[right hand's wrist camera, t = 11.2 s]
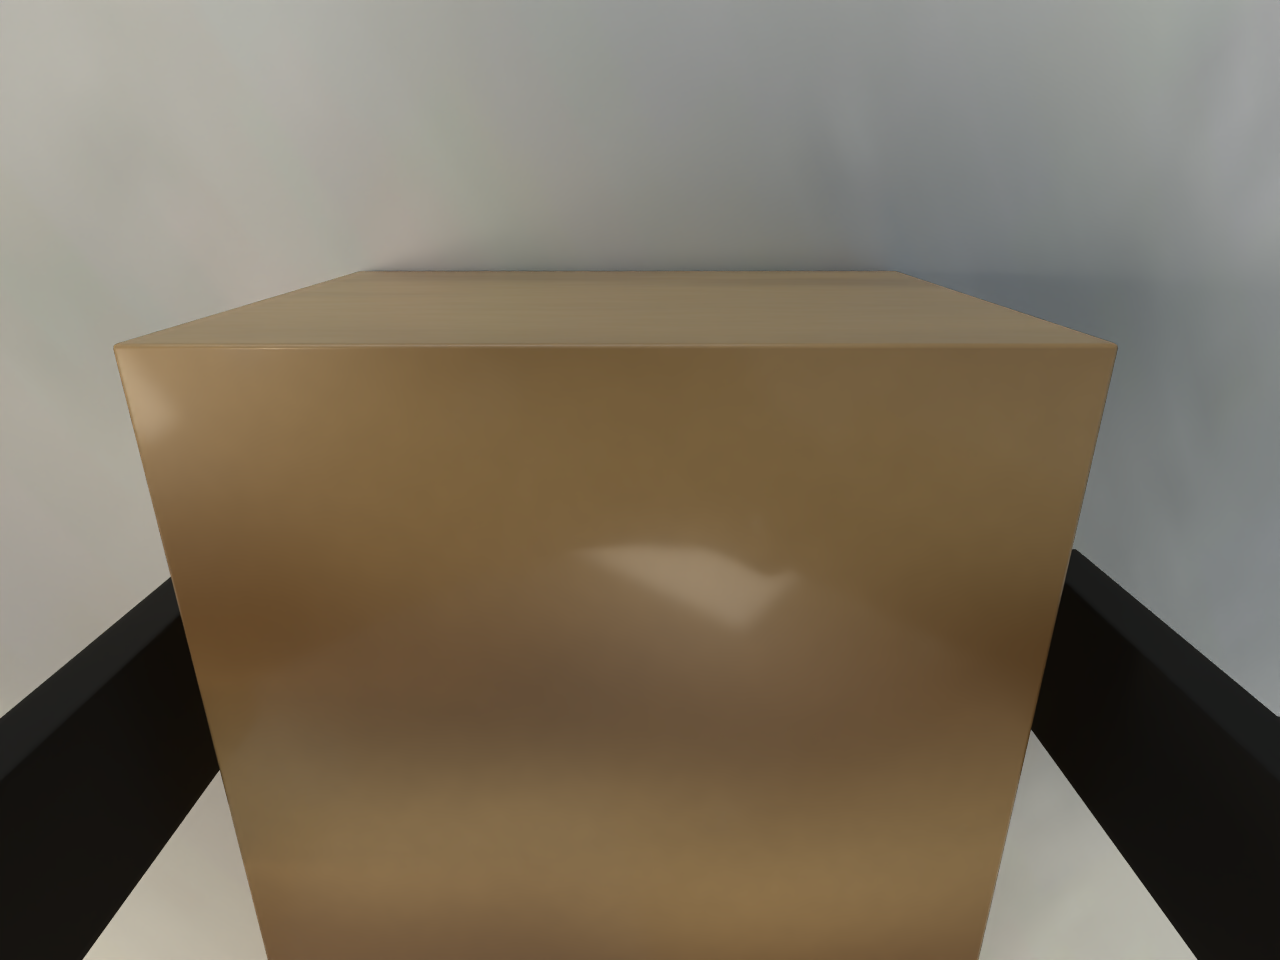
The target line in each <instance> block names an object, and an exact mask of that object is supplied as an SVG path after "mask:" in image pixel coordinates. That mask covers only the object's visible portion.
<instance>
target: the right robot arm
mask: <svg viewBox="0 0 1280 960" xmlns="http://www.w3.org/2000/svg"><path fill="white" fill-rule="evenodd" d="M1031 730H1032V731H1033V732H1034V734H1035V735H1036V737H1037V738H1038V739H1039V741H1040V742H1041V743H1042V745H1043V746H1044V748H1045V749H1046V750H1047V752H1048V753H1049V755H1050V756H1051V757H1052V759H1053V760H1054V761H1055V763H1056V764H1057V766H1058V767H1059V768H1060V770H1061V771H1062V773H1063V774H1064V775H1065V777H1066V778H1067V779H1068V781H1069V782H1070V784H1071V785H1072V786H1073V788H1074V789H1075V791H1076V792H1077V793H1078V795H1079V796H1080V797H1081V799H1082V800H1083V802H1084V803H1085V804H1086V806H1087V807H1088V809H1089V810H1090V811H1091V813H1092V814H1093V815H1094V817H1095V818H1096V820H1097V821H1098V822H1099V824H1100V825H1101V827H1102V828H1103V829H1104V831H1105V832H1106V833H1107V835H1108V836H1109V838H1110V839H1111V840H1112V842H1113V843H1114V845H1115V846H1116V847H1117V849H1118V850H1119V851H1120V853H1121V854H1122V856H1123V857H1124V858H1125V860H1126V861H1127V863H1128V864H1129V865H1130V867H1131V868H1132V870H1133V871H1134V872H1135V874H1136V875H1137V876H1138V878H1139V879H1140V881H1141V882H1142V883H1143V885H1144V886H1145V888H1146V889H1147V890H1148V892H1149V893H1150V894H1151V896H1152V897H1153V899H1154V900H1155V901H1156V903H1157V904H1158V906H1159V907H1160V908H1161V910H1162V911H1163V912H1164V914H1165V915H1166V917H1167V918H1168V919H1169V921H1170V922H1171V924H1172V925H1173V926H1174V928H1175V929H1176V930H1177V932H1178V933H1179V935H1180V936H1181V937H1182V939H1183V940H1184V942H1185V943H1186V944H1187V946H1188V947H1189V948H1190V950H1191V951H1192V953H1193V954H1194V955H1195V957H1196V958H1197V960H1280V717H1277V716H1276V715H1275V714H1274V713H1273V712H1271V711H1270V710H1269V709H1268V708H1266V707H1265V706H1264V705H1263V704H1262V703H1260V702H1259V701H1258V700H1257V699H1256V698H1254V697H1253V696H1252V695H1251V694H1250V693H1248V692H1247V691H1246V690H1245V689H1244V688H1242V687H1241V686H1240V685H1239V684H1238V683H1236V682H1235V681H1234V680H1233V679H1232V678H1230V677H1229V676H1228V675H1227V674H1226V673H1224V672H1223V671H1222V670H1221V669H1220V668H1218V667H1217V666H1216V665H1215V664H1213V663H1212V662H1211V661H1210V660H1209V659H1207V658H1206V657H1205V656H1204V655H1203V654H1201V653H1200V652H1199V651H1198V650H1197V649H1195V648H1194V647H1193V646H1192V645H1191V644H1189V643H1188V642H1187V641H1186V640H1185V639H1183V638H1182V637H1181V636H1180V635H1179V634H1177V633H1176V632H1175V631H1174V630H1173V629H1171V628H1170V627H1169V626H1168V625H1167V624H1165V623H1164V622H1163V621H1162V620H1160V619H1159V618H1158V617H1157V616H1156V615H1154V614H1153V613H1152V612H1151V611H1150V610H1148V609H1147V608H1146V607H1145V606H1144V605H1142V604H1141V603H1140V602H1139V601H1138V600H1136V599H1135V598H1134V597H1133V596H1132V595H1130V594H1129V593H1128V592H1127V591H1126V590H1124V589H1123V588H1122V587H1121V586H1120V585H1118V584H1117V583H1116V582H1115V581H1114V580H1112V579H1111V578H1110V577H1109V576H1108V575H1106V574H1105V573H1104V572H1103V571H1101V570H1100V569H1099V568H1098V567H1097V566H1095V565H1094V564H1093V563H1092V562H1091V561H1089V560H1088V559H1087V558H1086V557H1085V556H1083V555H1082V554H1081V553H1080V552H1079V551H1077V550H1076V549H1072V551H1071V556H1070V560H1069V564H1068V569H1067V573H1066V577H1065V582H1064V586H1063V591H1062V595H1061V599H1060V604H1059V608H1058V613H1057V617H1056V621H1055V626H1054V630H1053V635H1052V639H1051V643H1050V648H1049V652H1048V656H1047V661H1046V665H1045V670H1044V674H1043V678H1042V683H1041V687H1040V692H1039V696H1038V700H1037V705H1036V709H1035V714H1034V718H1033V722H1032V727H1031ZM219 770H220V768H219V764H218V760H217V756H216V752H215V749H214V745H213V741H212V737H211V733H210V729H209V725H208V721H207V717H206V713H205V709H204V705H203V701H202V697H201V693H200V689H199V685H198V681H197V677H196V673H195V669H194V666H193V662H192V658H191V654H190V650H189V646H188V642H187V638H186V634H185V630H184V626H183V622H182V618H181V614H180V610H179V606H178V602H177V598H176V594H175V590H174V586H173V583H172V579H171V577H170V578H169V579H168V580H166V581H165V582H164V583H163V584H162V585H160V586H159V587H158V588H157V589H156V590H154V591H153V592H152V593H151V594H150V595H148V596H147V597H146V598H145V599H144V600H142V601H141V602H140V603H139V604H138V605H136V606H135V607H134V608H133V609H132V610H130V611H129V612H128V613H127V614H126V615H124V616H123V617H122V618H121V619H120V620H118V621H117V622H116V623H115V624H113V625H112V626H111V627H110V628H109V629H107V630H106V631H105V632H104V633H103V634H101V635H100V636H99V637H98V638H97V639H95V640H94V641H93V642H92V643H91V644H89V645H88V646H87V647H86V648H85V649H83V650H82V651H81V652H80V653H79V654H77V655H76V656H75V657H74V658H73V659H71V660H70V661H69V662H68V663H67V664H65V665H64V666H63V667H62V668H60V669H59V670H58V671H57V672H56V673H54V674H53V675H52V676H51V677H50V678H48V679H47V680H46V681H45V682H44V683H42V684H41V685H40V686H39V687H38V688H36V689H35V690H34V691H33V692H32V693H30V694H29V695H28V696H27V697H26V698H24V699H23V700H22V701H21V702H20V703H18V704H17V705H16V706H15V707H14V708H12V709H11V710H10V711H9V712H7V713H6V714H5V715H4V716H3V717H1V718H0V960H83V958H84V957H85V955H86V954H87V953H88V951H89V950H90V948H91V947H92V946H93V944H94V943H95V942H96V940H97V939H98V937H99V936H100V935H101V933H102V932H103V930H104V929H105V928H106V926H107V925H108V924H109V922H110V921H111V919H112V918H113V917H114V915H115V914H116V912H117V911H118V910H119V908H120V907H121V906H122V904H123V903H124V901H125V900H126V899H127V897H128V896H129V894H130V893H131V892H132V890H133V889H134V888H135V886H136V885H137V883H138V882H139V881H140V879H141V878H142V876H143V875H144V874H145V872H146V871H147V870H148V868H149V867H150V865H151V864H152V863H153V861H154V860H155V858H156V857H157V856H158V854H159V853H160V852H161V850H162V849H163V847H164V846H165V845H166V843H167V842H168V840H169V839H170V838H171V836H172V835H173V834H174V832H175V831H176V829H177V828H178V827H179V825H180V824H181V822H182V821H183V820H184V818H185V817H186V816H187V814H188V813H189V811H190V810H191V809H192V807H193V806H194V804H195V803H196V802H197V800H198V799H199V798H200V796H201V795H202V793H203V792H204V791H205V789H206V788H207V786H208V785H209V784H210V782H211V781H212V779H213V778H214V777H215V775H216V774H217V773H218V771H219Z"/></svg>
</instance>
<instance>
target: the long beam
mask: <svg viewBox="0 0 1280 960" xmlns="http://www.w3.org/2000/svg"><path fill="white" fill-rule="evenodd" d="M113 349H114V353H115V357H116V361H117V365H118V369H119V373H120V377H121V381H122V385H123V389H124V393H125V397H126V401H127V405H128V409H129V413H130V416H131V420H132V424H133V428H134V432H135V436H136V440H137V444H138V448H139V452H140V456H141V460H142V464H143V468H144V472H145V476H146V480H147V484H148V488H149V492H150V496H151V500H152V503H153V507H154V511H155V515H156V519H157V523H158V527H159V531H160V535H161V539H162V543H163V547H164V551H165V555H166V559H167V563H168V567H169V571H170V575H171V579H172V583H173V586H174V590H175V594H176V598H177V602H178V606H179V610H180V614H181V618H182V622H183V626H184V630H185V634H186V638H187V642H188V646H189V650H190V654H191V658H192V662H193V666H194V669H195V673H196V677H197V681H198V685H199V689H200V693H201V697H202V701H203V705H204V709H205V713H206V717H207V721H208V725H209V729H210V733H211V737H212V741H213V745H214V749H215V752H216V756H217V760H218V764H219V768H220V772H221V776H222V780H223V784H224V788H225V792H226V796H227V800H228V804H229V808H230V812H231V816H232V820H233V824H234V828H235V832H236V836H237V839H238V843H239V847H240V851H241V855H242V859H243V863H244V867H245V871H246V875H247V879H248V883H249V887H250V891H251V895H252V899H253V903H254V907H255V911H256V915H257V919H258V922H259V926H260V930H261V934H262V938H263V942H264V946H265V950H266V954H267V958H268V960H978V959H979V955H980V951H981V946H982V942H983V937H984V933H985V929H986V924H987V920H988V915H989V911H990V907H991V902H992V898H993V893H994V889H995V885H996V880H997V876H998V872H999V867H1000V863H1001V858H1002V854H1003V850H1004V845H1005V841H1006V836H1007V832H1008V828H1009V823H1010V819H1011V814H1012V810H1013V806H1014V801H1015V797H1016V793H1017V788H1018V784H1019V779H1020V775H1021V771H1022V766H1023V762H1024V757H1025V753H1026V749H1027V744H1028V740H1029V735H1030V731H1031V727H1032V722H1033V718H1034V714H1035V709H1036V705H1037V700H1038V696H1039V692H1040V687H1041V683H1042V678H1043V674H1044V670H1045V665H1046V661H1047V656H1048V652H1049V648H1050V643H1051V639H1052V635H1053V630H1054V626H1055V621H1056V617H1057V613H1058V608H1059V604H1060V599H1061V595H1062V591H1063V586H1064V582H1065V577H1066V573H1067V569H1068V564H1069V560H1070V556H1071V551H1072V547H1073V542H1074V538H1075V534H1076V529H1077V525H1078V520H1079V516H1080V512H1081V507H1082V503H1083V498H1084V494H1085V490H1086V485H1087V481H1088V477H1089V472H1090V468H1091V463H1092V459H1093V455H1094V450H1095V446H1096V441H1097V437H1098V433H1099V428H1100V424H1101V419H1102V415H1103V411H1104V406H1105V402H1106V398H1107V393H1108V389H1109V384H1110V380H1111V376H1112V371H1113V367H1114V362H1115V358H1116V354H1117V349H1118V347H1117V345H1116V344H1115V343H1112V342H1109V341H1106V340H1103V339H1100V338H1097V337H1094V336H1091V335H1088V334H1085V333H1082V332H1079V331H1076V330H1073V329H1070V328H1067V327H1064V326H1061V325H1058V324H1055V323H1052V322H1048V321H1045V320H1042V319H1039V318H1036V317H1033V316H1030V315H1027V314H1024V313H1021V312H1018V311H1015V310H1012V309H1009V308H1006V307H1003V306H1000V305H997V304H994V303H991V302H988V301H985V300H982V299H979V298H976V297H973V296H970V295H967V294H964V293H961V292H957V291H954V290H951V289H948V288H945V287H942V286H939V285H936V284H933V283H930V282H927V281H924V280H921V279H918V278H915V277H912V276H909V275H906V274H903V273H900V272H897V271H359V272H356V273H352V274H349V275H346V276H342V277H339V278H336V279H332V280H329V281H325V282H322V283H319V284H315V285H312V286H309V287H305V288H302V289H299V290H295V291H292V292H289V293H285V294H282V295H278V296H275V297H272V298H268V299H265V300H262V301H258V302H255V303H252V304H248V305H245V306H241V307H238V308H235V309H231V310H228V311H225V312H221V313H218V314H215V315H211V316H208V317H205V318H201V319H198V320H194V321H191V322H188V323H184V324H181V325H178V326H174V327H171V328H168V329H164V330H161V331H157V332H154V333H151V334H147V335H144V336H141V337H137V338H134V339H131V340H127V341H124V342H121V343H117V344H115V345H114V348H113Z"/></svg>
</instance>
